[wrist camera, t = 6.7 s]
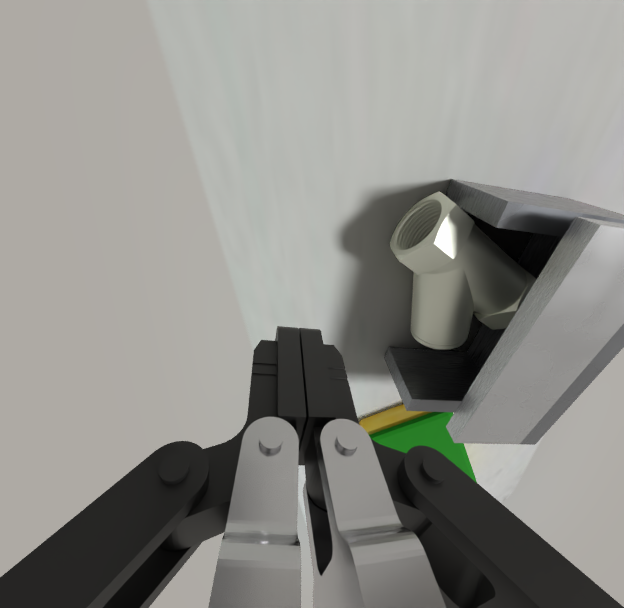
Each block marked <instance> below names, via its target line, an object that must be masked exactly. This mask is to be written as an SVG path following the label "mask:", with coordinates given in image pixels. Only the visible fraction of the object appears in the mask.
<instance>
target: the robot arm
mask: <svg viewBox="0 0 624 608" xmlns="http://www.w3.org/2000/svg"><path fill="white" fill-rule="evenodd" d="M298 465H305V474H306V481H305V484H304V488H303V497H304V505H305V513H306V520H307V528H308V536H309V543H310V551H311V559H312V566H313V576H314V587H313V608H624V607H623V606H621V605H620V604H619V603H618V602H617V601H615V600H614V599H613V598H612V597H611V596H610V595H608V594H607V593H606V592H605V591H604V590H603V589H601V588H600V587H599V586H598V585H597V584H595V583H594V582H593V581H592V580H591V579H590V578H588V577H587V576H586V575H585V574H584V573H582V572H581V571H580V570H579V569H578V568H577V567H575V566H574V565H573V564H572V563H571V562H570V561H568V560H567V559H566V558H565V557H564V556H562V555H561V554H560V553H559V552H558V551H556V550H555V549H554V548H553V547H551V545H549V544H548V543H547V542H546V541H545V540H543V539H542V538H541V537H540V536H539V535H538V534H536V533H535V532H534V531H533V530H532V529H531V528H529V527H528V526H527V525H526V524H525V523H523V522H522V521H521V520H520V519H519V518H517V517H516V516H515V515H514V514H513V513H512V512H510V511H509V510H508V509H507V508H506V507H505V506H503V505H502V504H501V503H500V502H499V501H497V500H496V499H495V498H494V497H493V496H492V495H490V494H489V493H488V492H487V491H486V490H484V489H483V488H482V487H481V486H480V485H479V484H477V483H476V482H475V481H474V480H473V479H472V478H470V477H469V476H468V475H467V474H466V473H464V472H463V471H462V470H461V469H460V468H459V467H457V466H456V465H455V464H454V463H453V462H451V461H450V460H449V459H448V458H447V457H446V456H444V455H443V454H442V453H440V452H439V451H437V450H436V449H433V448H431V447H428V446H415V447H413V448H411V449H410V450H409V451H408V452H407V453H404V452H401V451H398V450H395V449H392V448H389V447H386V446H384V445H381V444H379V443H377V442H375V441H374V440H372V439H371V438H370V436H369V435H368V433H367V432H366V431H365V429H364V428H363V427H361V426H360V424H359V422H358V419H357V416H356V411H355V407H354V403H353V399H352V395H351V391H350V387H349V383H348V381H347V375H346V371H345V367H344V363H343V358H342V355H341V354H340V353H339V352H338V350H337V349H336V348H335V346H334V345H325V344H323V340H322V335H321V331H320V330H318V329H306V328H299V329H298V328H292V327H280V326H278V327H277V332H276V339H275V341H268V340H261V341H260V343H259V344H258V345H257V347H256V348H255V350H254V356H253V367H252V376H251V387H250V397H249V408H248V416H247V421H246V424H245V425H244V427H243V429H242V430H241V431H240V432H239V433H238V434H237V435H236V436H235V437H234V438H232V439H231V440H229V441H227V442H225V443H222V444H219V445H216V446H212V447H209V448H206V449H202V448H201V447H200V446H198V445H197V444H195V443H192V442H188V441H179V442H173V443H170V444H167V445H164V446H163V447H161V448H159V449H158V450H156V451H155V452H154V453H152V454H151V455H150V456H149V457H148V458H146V459H145V460H144V461H143V462H141V463H140V464H139V465H138V466H136V467H135V468H134V469H133V470H132V471H130V472H129V473H128V474H127V475H126V476H124V477H123V478H122V479H121V480H120V481H118V482H117V483H116V484H114V485H113V486H112V487H111V488H110V489H108V490H107V491H106V492H105V493H103V494H102V495H101V496H100V497H98V498H97V499H96V500H95V501H94V502H92V503H91V504H90V505H89V506H87V507H86V508H85V509H84V510H83V511H81V512H80V513H79V514H78V515H77V516H75V517H74V518H73V519H71V520H70V521H69V522H68V523H67V524H65V525H64V526H63V527H62V528H60V529H59V530H58V531H57V532H56V533H54V534H53V535H52V536H51V537H49V538H48V539H47V540H46V541H45V542H43V543H42V544H41V545H40V546H38V547H37V548H36V549H35V550H34V551H32V552H31V553H30V554H29V555H27V556H26V557H25V558H24V559H22V560H21V561H20V562H19V563H18V564H16V565H15V566H14V567H13V568H12V569H10V570H9V571H8V572H7V573H5V574H4V575H3V576H2V577H0V608H149V606H150V605H151V604H152V603H153V602H154V600H155V599H156V598H157V597H158V595H159V594H160V593H161V592H162V591H163V589H164V588H165V587H166V586H167V584H168V583H169V582H170V581H171V580H172V578H173V577H174V576H175V575H176V573H177V572H178V571H179V570H180V569H181V567H182V566H183V565H184V563H186V561H187V560H188V559H189V558H190V556H191V555H192V554H193V553H194V551H195V550H196V549H197V548H198V547H199V545H200V544H201V543H202V542H203V541H205V540H207V539H209V538H211V537H214V536H216V535H219V534H221V533H223V532H225V533H224V536H223V539H222V543H221V547H220V551H219V556H218V561H217V566H216V572H215V576H214V582H213V587H212V592H211V597H210V602H209V608H301V549H300V542H299V539H298V535H297V507H298Z"/></svg>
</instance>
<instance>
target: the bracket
mask: <svg viewBox="0 0 624 608" xmlns="http://www.w3.org/2000/svg"><path fill="white" fill-rule="evenodd" d="M446 197H448V198H449V199H450V200H452V201H453V202H454V203H455V204H457V205H458V206H459V207H460V208H461V209H463V210H464V211H466V212H468V213H470V214H472V215H474V216H476V217H477V218H479V219H481V220H483V221H485V222H487V223H489V224H490V225H492V226H494V227H496V228H503V229H510V230H517V231H524V232H531V233H534V234H533V235H532V237H531V239H530V241H529V243H528V244H527V246H526V248H525V250H524V251H523V253H522V255H521V257H520V259H519V260H518V262H517V263H518V264H519V265H520V266H521V267H523V268H524V269H525V270H526V271H527V272H529V273H530V274H531V275H532V276H533V277H535V278H536V279H537V280H536V281H535V283H534V285H533V286H532V288H531V290H530V291H529V293H528V294H527V296H526V298H525V299H524V301H523V302H522V304H521V306H520V307H519V309H518V311H517V312H516V314H515V315H514V317H513V319H512V320H511V322H510V323H509V325H508V327H507V328H504V329H495V330H492V329H490V328H489V327H488V326H486V325H485V324H484V323H483V324H482V326H481V328H480V330H479V332H478V333H477V335H476V337H475V339H474V341H473V342H472V344H471V346H470V348H469V349H468V351H467V352H453V351H438V350H424V349H409V348H395V347H388V349H387V352H386V355H385V357H384V358H385V361H386V363H387V365H388V368H389V370H390V373H391V375H392V377H393V380H394V382H395V385H396V387H397V389H398V392H399V394H400V396H401V399H402V401H403V404H404V406H405V408H406V411H427V412H454V414H453V416H452V417H451V419H450V421H449V422H448V424H447V425H446V428H447V430H448V432H449V434H450V436H451V438H452V440H453V442H454V443H482V444H536V443H537V442H538V441H539V440H540V438H541V437H542V436H543V435H544V434H545V433H546V432H547V431H548V430H549V429H550V427H551V426H552V425H553V424H554V423H555V422H556V421H557V420H558V419H559V417H560V416H561V415H562V414H563V413H564V412H565V411H566V410H567V409H568V407H570V405H571V404H572V403H573V402H574V401H575V400H576V399H577V398H578V396H579V395H580V394H581V393H582V392H583V391H584V390H585V389H586V388H587V387H588V386H589V385H590V383H591V382H592V381H593V380H594V379H595V378H596V377H597V376H598V375H599V373H600V372H601V371H602V370H603V369H604V368H605V367H606V366H607V365H608V364H609V363H610V361H611V360H612V359H613V358H614V357H615V356H616V355H617V354H618V353H619V352H620V350H621V349H622V348H623V347H624V215H622V214H619V213H616V212H612V211H609V210H606V209H602V208H599V207H596V206H592V205H589V204H586V203H582V202H579V201H576V200H572V199H568V198H562V197H556V196H550V195H543V194H537V193H531V192H525V191H519V190H513V189H507V188H501V187H495V186H489V185H483V184H477V183H471V182H465V181H459V180H453V179H452V180H451V182H450V185H449V188H448V190H447V193H446Z"/></svg>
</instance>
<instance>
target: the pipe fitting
mask: <svg viewBox="0 0 624 608" xmlns="http://www.w3.org/2000/svg"><path fill="white" fill-rule="evenodd" d="M390 247H391V249H392V251H393V253H394V255H395V256H396V257H397V259H398V260H399V262H401V263H402V264H404V265H405V266H406V267H408V268H409V269H410V270H412V271H413V272H414V276H413V294H412V312H411V333H412V335H413V337H414V338H415V339H416V340H417V341H418V342H419V343H421V344H423V345H425V346H427V347H429V348H432V349H435V350H448V349H454V348H457V347H459V346H461V345H462V344H464V343H465V341H466V340H467V338H468V334H469V330H470V325H471V320H472V315H473V314H474V315H475V316H476V317H477V318H478V320H480V321H481V322H482V323H484V324H485V325H486V326H488V327H489V328H490V329H492V330H495V329H504V328H507V327H508V325H509V323H510V322H511V320H512V319H513V317H514V315H515V314H516V312H517V311H518V309H519V307H520V306H521V304H522V302H523V301H524V299H525V298H526V296H527V294H528V293H529V291H530V290H531V288H532V286H533V285H534V283H535V281H536V280H537V279H536V278H535V277H533V276H532V275H531V274H530V273H529V272H527V271H526V270H525V269H524V268H523V267H521V266H520V265H519V264H518V263H516V262H515V261H514V260H513V259H511V258H510V257H509V256H508V255H507V254H506V253H505V252H504V251H503V250H502V249H501V248H500V247H499V246H497V245H496V244H495V243H494V242H493V241H492V240H491V239H490V238H489V237H488V236H487V235H486V234H484V233H483V232H482V231H481V230H480V229H479V228H478V227H477V226H476V225H475V224H474V220H473V219H472V218H470V217H469V216H468V215H467V214H466V213H465V212H464V211H463V210H462V209H461V208H460V207H459V206H458V205H457V204H455V203H454V202H453V201H452V200H450V199H449V198H448V197H446V196H445V195H444V194H442V193H441V192H440V191H439V192H436V193H434V194H432V195H429V196H428V197H426V198H424V199H422V200H421V201H419V202H418V203H417V204H415V205H414V206H413V207H412V208H411V209H410V210H409V211H408V212H407V213H406V214H405V215H404V217H403V218H402V219H401V220H400V222H399V223H398V225H397V227H396V229H395V231H394V233H393V235H392V238H391V241H390Z"/></svg>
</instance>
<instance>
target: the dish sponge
mask: <svg viewBox="0 0 624 608" xmlns="http://www.w3.org/2000/svg"><path fill="white" fill-rule="evenodd" d="M452 416H453V412H427V411H406V408H405V406H404V404H402V405H399V406H397V407H394V408H391V409H389V410H386V411H383V412H380V413H378V414H375V415H372V416H370V417H367V418H364V419H362V420H361V421H360V423H359V424H360V426H361V427H363V428H364V429H365V431H366V432H367V433H368V435H369V436H370V438H371V439H372V440H374V441H375V442H377V443H379V444H381V445H384V446H386V447H389V448H392V449H395V450H398V451H401V452H404V453H407V452H408V451H409V450H410V449H411V448H413V447H415V446H428V447H431V448H433V449H436V450H437V451H439V452H440V453H442V454H443V455H444V456H446V457H447V458H448V459H449V460H450V461H451V462H453V463H454V464H455V465H456V466H457V467H459V468H460V469H461V470H462V471H463V472H464V473H466V474H467V475H468V476H469V477H470V478H472V479H473V480H474V481H475V482H476V479H475V476H474V473H473V470H472V467H471V464H470V461H469V458H468V455H467V452H466V450H465V447H464V444H463V443H454V442H453V440H452V438H451V436H450V434H449V432H448V430H447V428H446V425H447V424H448V422H449V421H450V419H451V417H452ZM476 483H477V482H476Z"/></svg>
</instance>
